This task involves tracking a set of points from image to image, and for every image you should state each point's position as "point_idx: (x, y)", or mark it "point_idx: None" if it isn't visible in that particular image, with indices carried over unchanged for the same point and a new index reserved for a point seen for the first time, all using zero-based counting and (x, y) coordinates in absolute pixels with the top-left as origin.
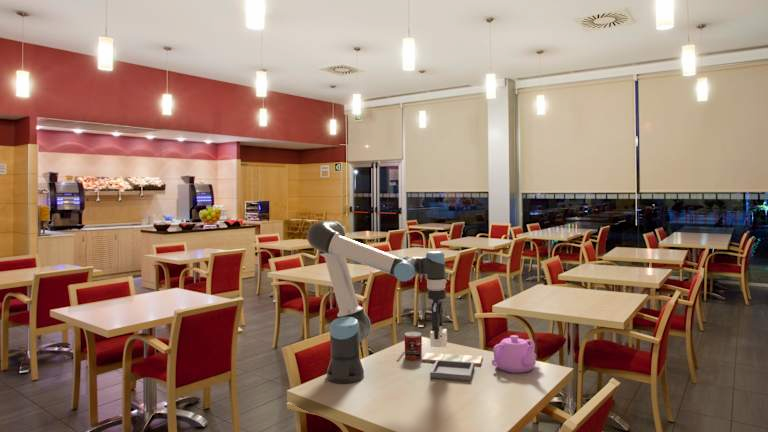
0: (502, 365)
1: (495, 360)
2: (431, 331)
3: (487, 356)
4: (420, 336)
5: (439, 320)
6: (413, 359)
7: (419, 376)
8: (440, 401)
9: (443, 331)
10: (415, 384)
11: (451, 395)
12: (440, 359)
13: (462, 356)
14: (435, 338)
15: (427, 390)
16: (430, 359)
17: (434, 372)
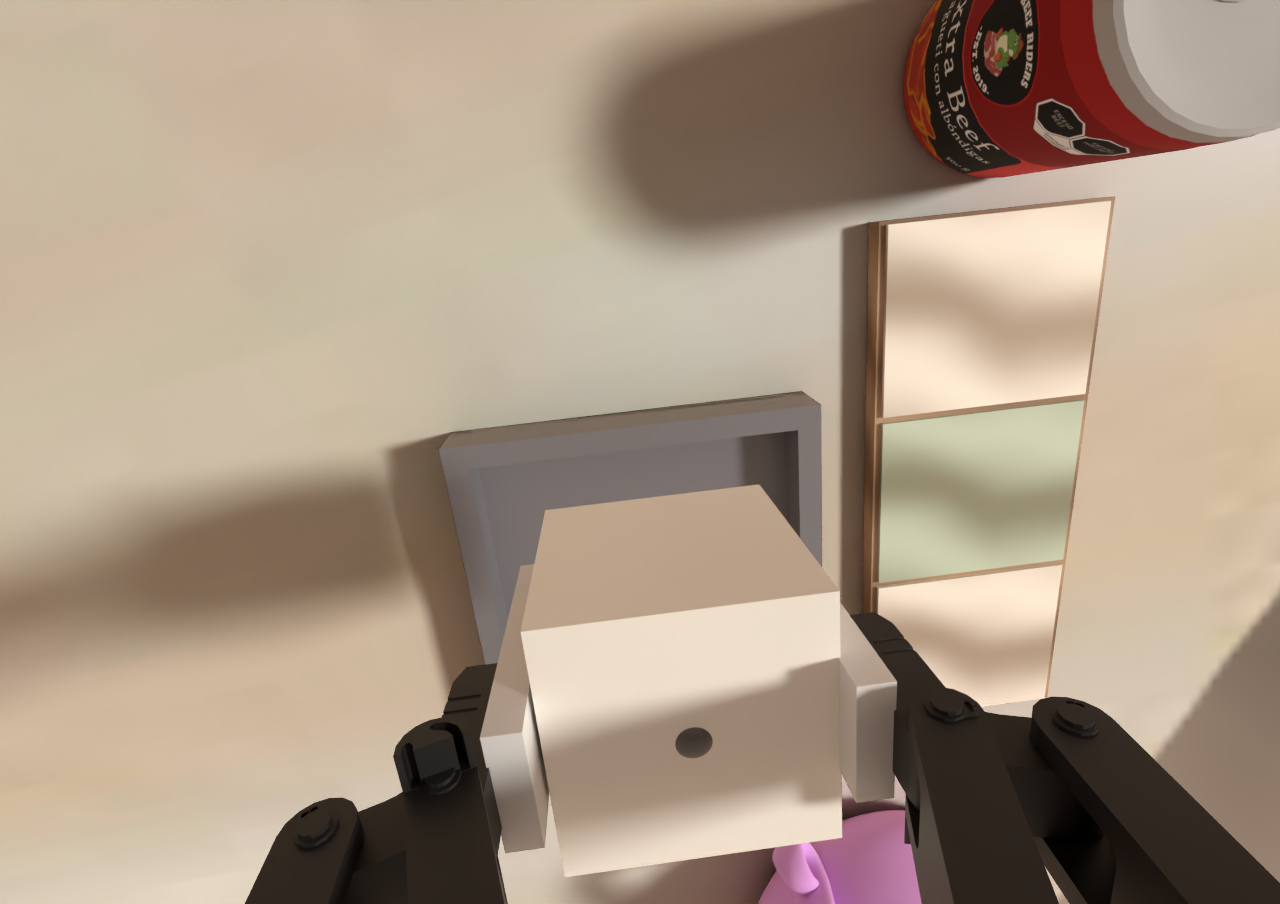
0: (768, 902)
1: (794, 889)
2: (596, 638)
3: (1095, 703)
4: (1177, 140)
5: (930, 892)
6: (907, 108)
7: (461, 324)
8: (29, 635)
9: (645, 839)
10: (251, 351)
11: (186, 672)
12: (908, 407)
13: (1031, 561)
14: (460, 691)
15: (177, 489)
16: (890, 312)
17: (451, 488)
